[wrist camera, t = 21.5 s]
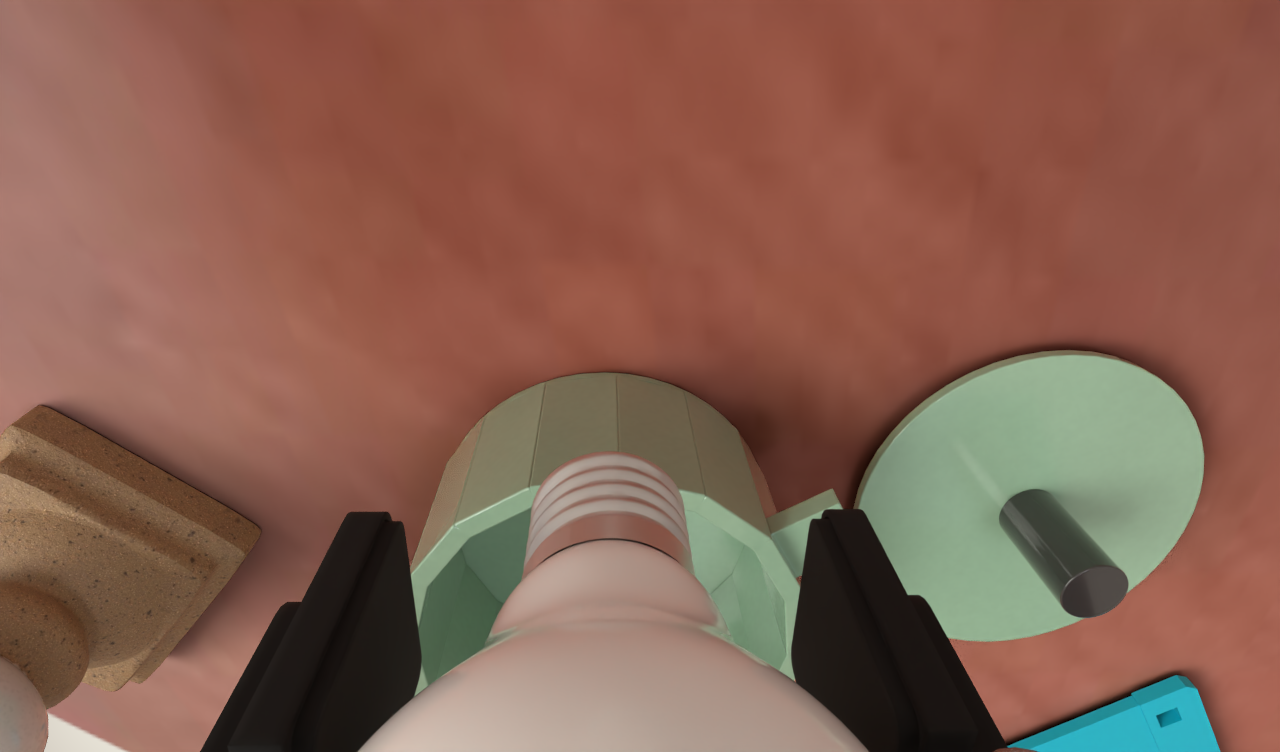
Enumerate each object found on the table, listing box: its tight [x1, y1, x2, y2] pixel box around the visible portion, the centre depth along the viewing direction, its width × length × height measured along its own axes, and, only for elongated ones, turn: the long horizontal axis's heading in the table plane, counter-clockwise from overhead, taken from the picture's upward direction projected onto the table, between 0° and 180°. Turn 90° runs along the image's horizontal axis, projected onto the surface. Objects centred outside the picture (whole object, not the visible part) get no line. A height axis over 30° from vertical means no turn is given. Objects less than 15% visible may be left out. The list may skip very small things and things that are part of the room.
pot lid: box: [853, 350, 1204, 642], centre depth 34 cm, size 17×17×7 cm
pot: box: [410, 372, 843, 696], centre depth 33 cm, size 16×21×8 cm
